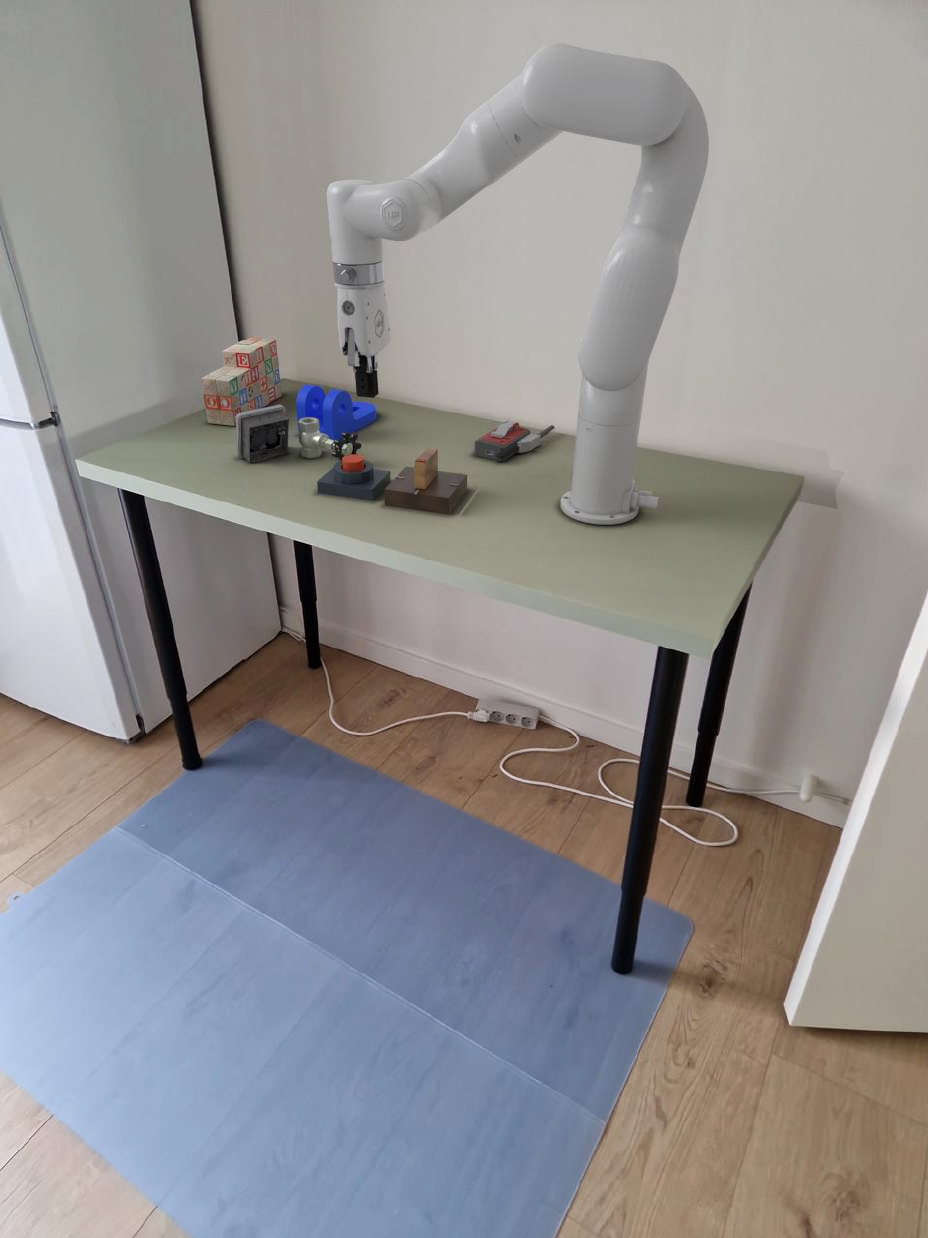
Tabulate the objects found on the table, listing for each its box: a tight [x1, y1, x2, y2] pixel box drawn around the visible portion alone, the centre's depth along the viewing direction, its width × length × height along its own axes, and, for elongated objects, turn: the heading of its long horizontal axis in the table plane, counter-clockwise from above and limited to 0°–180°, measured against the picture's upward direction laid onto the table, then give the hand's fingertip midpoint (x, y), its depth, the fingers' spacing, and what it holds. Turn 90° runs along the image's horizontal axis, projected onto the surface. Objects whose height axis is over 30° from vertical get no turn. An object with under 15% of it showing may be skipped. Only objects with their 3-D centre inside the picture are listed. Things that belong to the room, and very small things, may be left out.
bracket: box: [295, 384, 377, 441], centre depth 162 cm, size 18×8×9 cm, turn 153°
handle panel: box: [383, 466, 468, 516], centre depth 134 cm, size 11×11×3 cm
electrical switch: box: [235, 404, 290, 464], centre depth 147 cm, size 9×5×9 cm, turn 128°
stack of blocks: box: [201, 337, 283, 427], centre depth 169 cm, size 21×6×12 cm, turn 165°
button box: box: [316, 459, 392, 502], centre depth 137 cm, size 10×8×4 cm
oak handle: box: [413, 447, 439, 489], centre depth 132 cm, size 6×2×5 cm, turn 163°
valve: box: [297, 417, 363, 464], centre depth 147 cm, size 7×7×12 cm
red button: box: [342, 454, 365, 471], centre depth 136 cm, size 4×4×2 cm
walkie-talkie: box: [473, 420, 556, 462], centre depth 154 cm, size 9×4×20 cm
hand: (367, 395), depth 131 cm, fingers closed
